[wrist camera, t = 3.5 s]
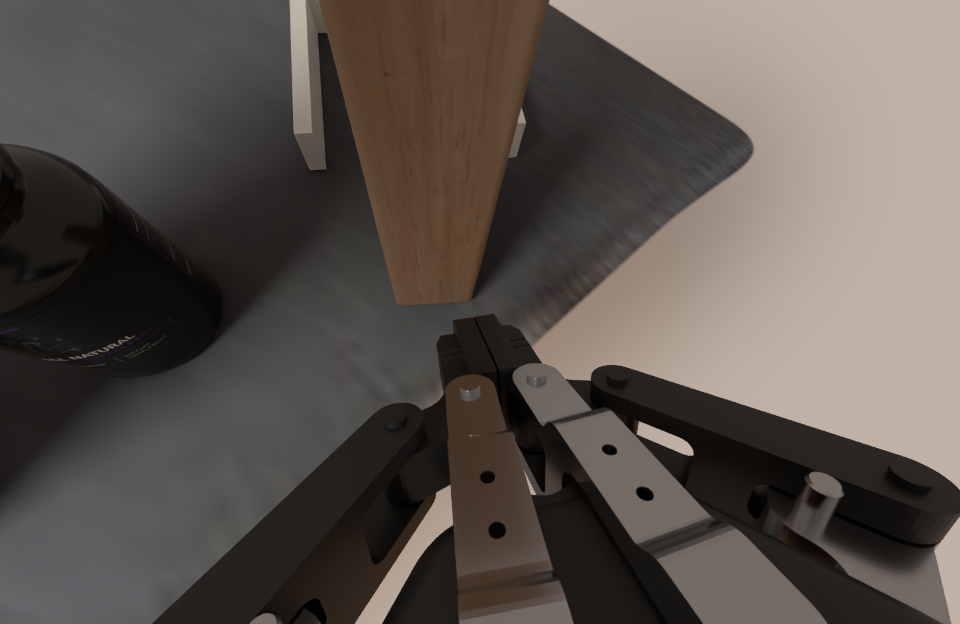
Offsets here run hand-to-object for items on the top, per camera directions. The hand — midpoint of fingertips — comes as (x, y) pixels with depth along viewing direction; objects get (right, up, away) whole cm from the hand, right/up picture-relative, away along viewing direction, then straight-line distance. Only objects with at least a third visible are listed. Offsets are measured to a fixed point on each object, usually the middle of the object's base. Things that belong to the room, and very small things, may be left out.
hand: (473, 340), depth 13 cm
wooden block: (-3, +5, +10) cm, 12 cm away
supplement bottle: (-17, +1, +7) cm, 18 cm away
